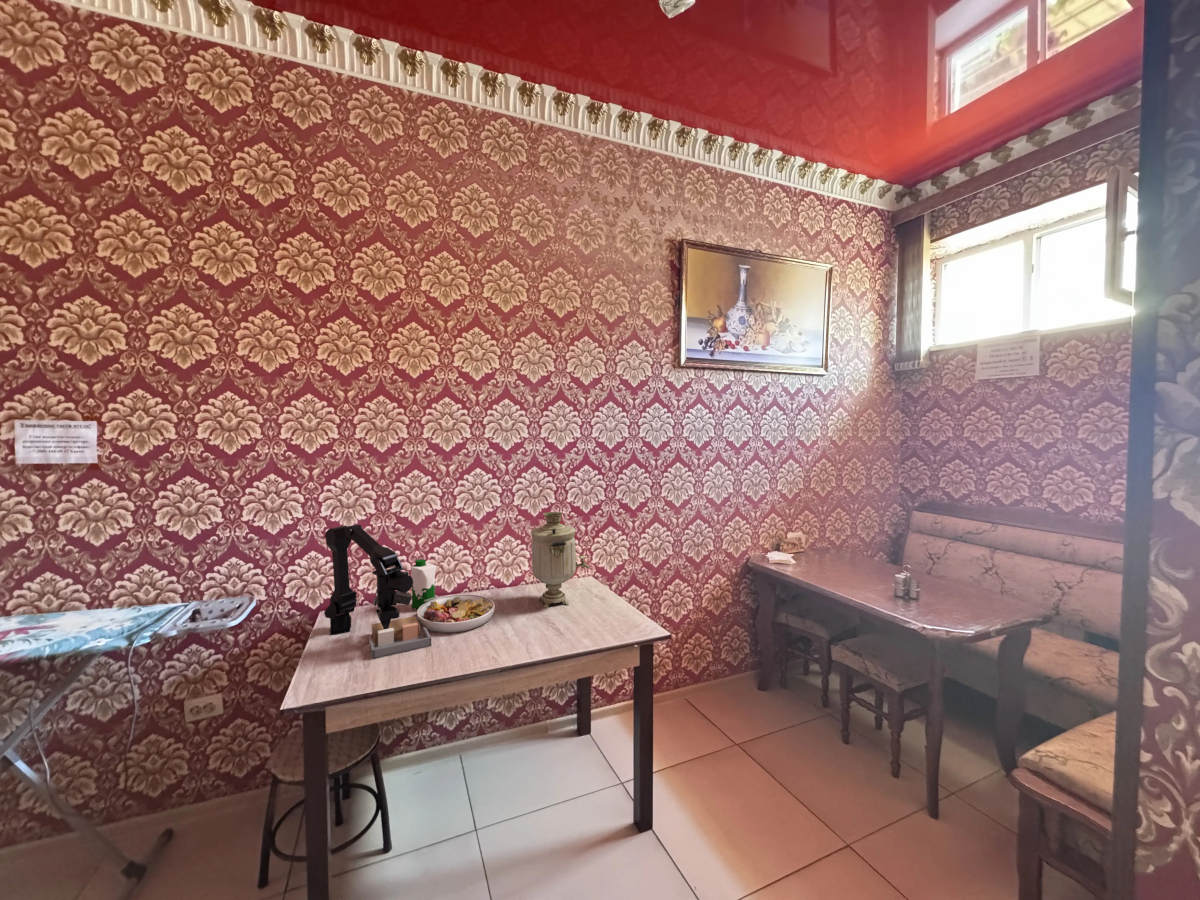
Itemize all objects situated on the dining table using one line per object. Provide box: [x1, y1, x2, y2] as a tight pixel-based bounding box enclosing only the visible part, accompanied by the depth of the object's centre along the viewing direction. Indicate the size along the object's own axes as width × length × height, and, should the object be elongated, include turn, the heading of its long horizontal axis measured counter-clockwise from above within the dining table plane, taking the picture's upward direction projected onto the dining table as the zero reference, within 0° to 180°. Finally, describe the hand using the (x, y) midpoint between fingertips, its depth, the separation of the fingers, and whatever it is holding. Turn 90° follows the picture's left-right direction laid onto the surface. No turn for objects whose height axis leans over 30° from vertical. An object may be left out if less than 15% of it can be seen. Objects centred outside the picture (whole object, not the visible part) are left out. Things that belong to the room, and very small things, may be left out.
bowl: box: [416, 593, 496, 633], centre depth 189 cm, size 30×30×8 cm
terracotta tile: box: [402, 623, 418, 641], centre depth 170 cm, size 5×5×2 cm
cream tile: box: [378, 628, 394, 647], centre depth 166 cm, size 5×5×2 cm
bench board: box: [371, 615, 421, 645], centre depth 174 cm, size 15×10×4 cm, turn 122°
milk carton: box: [410, 558, 438, 610], centre depth 200 cm, size 9×9×20 cm
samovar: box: [530, 511, 591, 609], centre depth 207 cm, size 30×26×40 cm
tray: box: [368, 627, 432, 660], centre depth 165 cm, size 19×10×3 cm, turn 122°
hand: (386, 630), depth 167 cm, fingers closed
